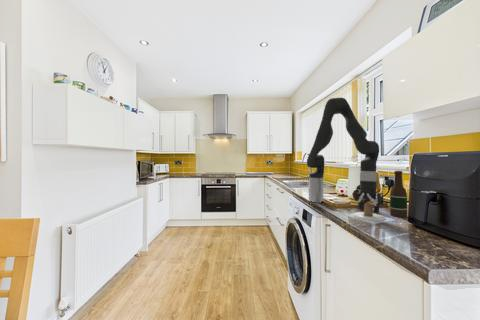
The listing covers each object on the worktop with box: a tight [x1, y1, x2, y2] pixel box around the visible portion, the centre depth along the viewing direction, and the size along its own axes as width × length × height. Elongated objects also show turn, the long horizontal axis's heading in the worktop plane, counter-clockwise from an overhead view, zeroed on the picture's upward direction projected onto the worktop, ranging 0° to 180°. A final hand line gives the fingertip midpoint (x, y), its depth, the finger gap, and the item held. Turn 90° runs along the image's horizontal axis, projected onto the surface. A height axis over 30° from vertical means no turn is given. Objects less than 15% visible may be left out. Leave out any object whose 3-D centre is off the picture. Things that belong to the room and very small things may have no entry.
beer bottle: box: [389, 170, 408, 219], centre depth 115 cm, size 8×8×24 cm
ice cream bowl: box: [352, 184, 371, 211], centre depth 130 cm, size 11×11×15 cm
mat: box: [342, 212, 396, 225], centre depth 112 cm, size 18×16×1 cm
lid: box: [352, 202, 386, 221], centre depth 112 cm, size 14×14×7 cm
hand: (368, 211), depth 112 cm, fingers open, 8 cm apart
